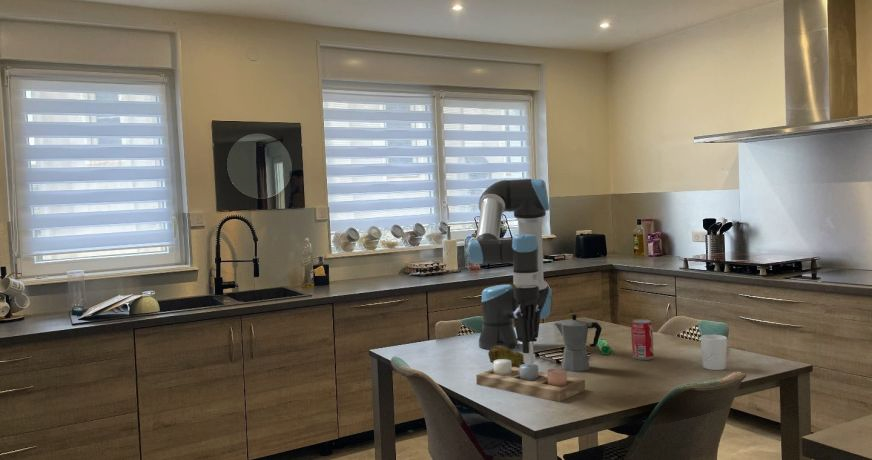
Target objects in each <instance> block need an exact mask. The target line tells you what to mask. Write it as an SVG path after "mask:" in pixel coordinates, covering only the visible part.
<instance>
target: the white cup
mask: <svg viewBox="0 0 872 460" xmlns="http://www.w3.org/2000/svg"><path fill="white" fill-rule="evenodd" d="M727 343H728V337H727V336H725V335H721V334H703V335H700V349H701V350H700V351H701V359H702V367H703V368H704V369H706V370H710V371H722V370H726V367H727V364H726V362H727V361H726V360H727V348H728V347H727V346H728V344H727Z"/></svg>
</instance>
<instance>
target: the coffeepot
mask: <svg viewBox="0 0 872 460" xmlns="http://www.w3.org/2000/svg"><path fill="white" fill-rule="evenodd" d="M577 317H578V316H577V314H576V313H575V314H571V319H570V320H566V321H558V322H556V323H554V326H555V327H557V329H558V331H559V333H560V334H561V336H562V337H561V338H562V342H563V343H564V349H563V354H562V362H561V369H564V370H566V371H568V372H576V373H577V372H584V371H588V370H589V369H590V368H591V367H590V363H589V356H588V352H587V349H586V344H587V342H588V341H587V340H588V333H589V329H596V330H595V333H594V337H593V343H589V347H590V348H596V347H597V346H598V344H597V342H598V340H599V339H600V337H601V333H602V330H603V328H602V326H601V325H600V324H599V323H598V322H597V321H596V322H595V321H594V322H593V321H591V322H590V321H583V320H579V319H577Z"/></svg>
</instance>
